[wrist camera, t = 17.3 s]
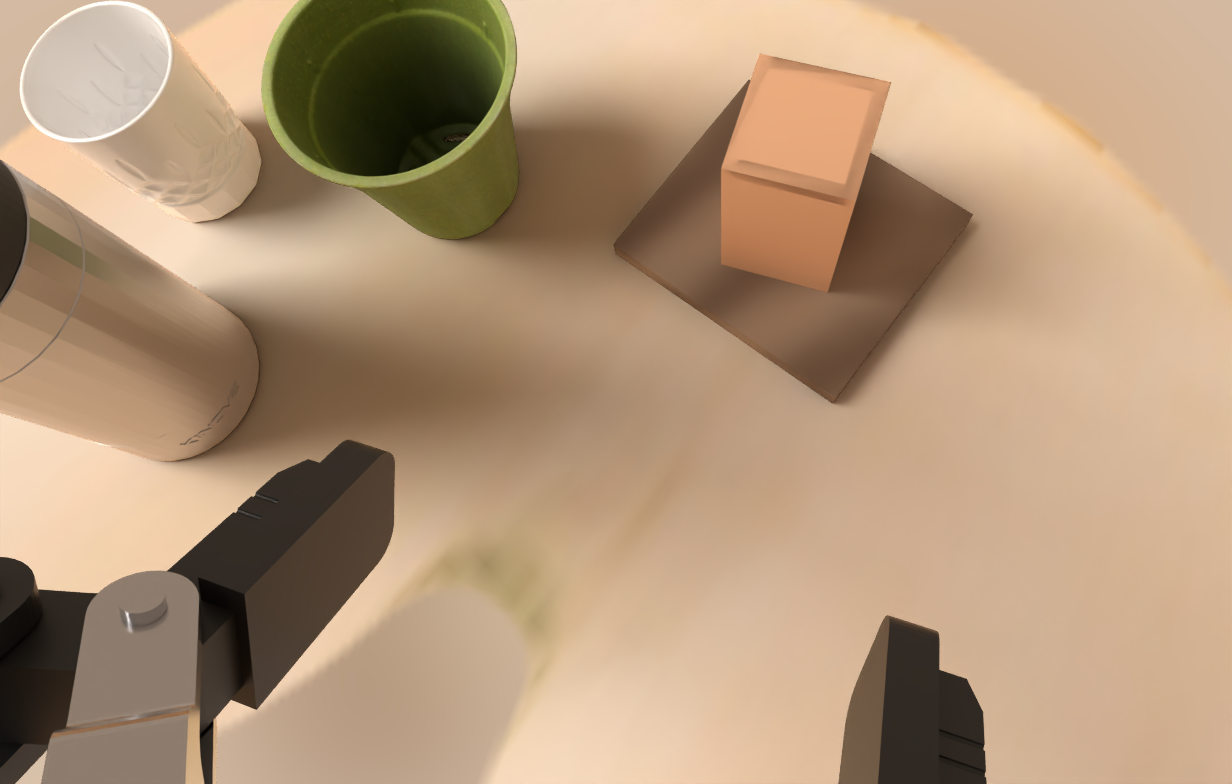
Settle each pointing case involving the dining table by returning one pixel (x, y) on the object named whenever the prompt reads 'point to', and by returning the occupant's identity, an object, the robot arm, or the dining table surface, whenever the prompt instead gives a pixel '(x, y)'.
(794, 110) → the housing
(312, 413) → the dining table surface
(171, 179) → the white cup
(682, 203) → the plate
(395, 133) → the plant pot
